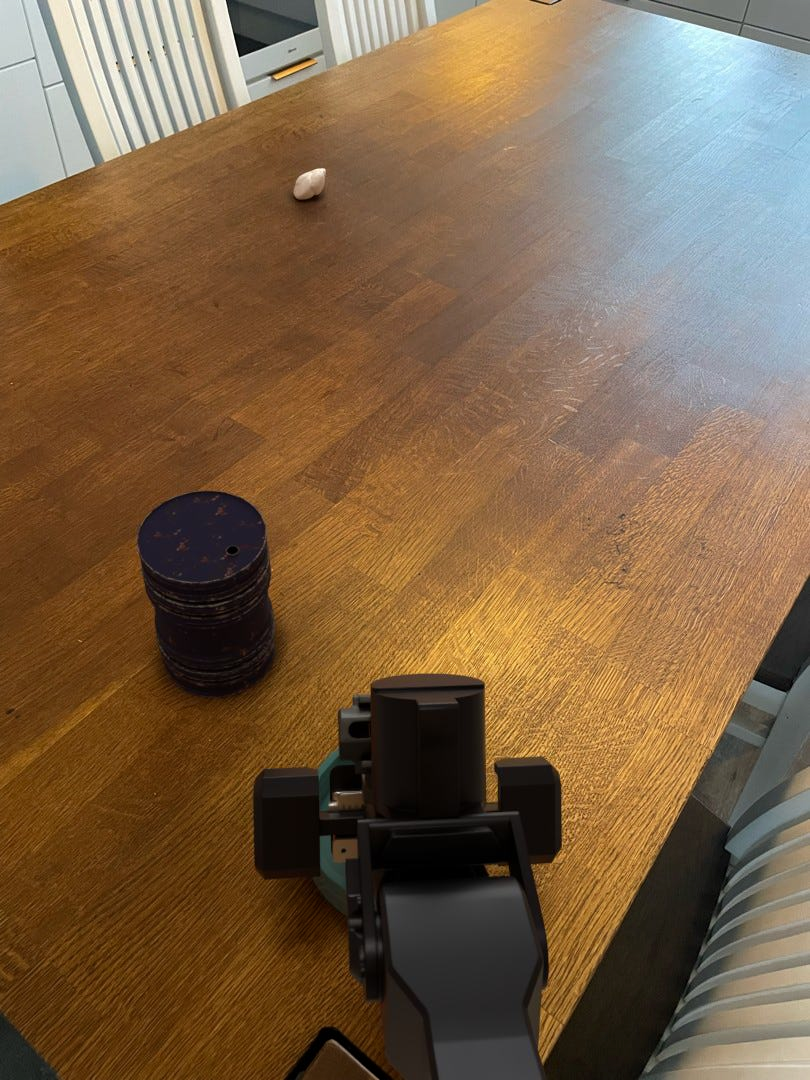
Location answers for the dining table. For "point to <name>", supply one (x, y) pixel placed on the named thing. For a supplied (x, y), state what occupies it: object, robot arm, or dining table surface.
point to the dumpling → (310, 184)
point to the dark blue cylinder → (209, 591)
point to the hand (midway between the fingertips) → (395, 776)
